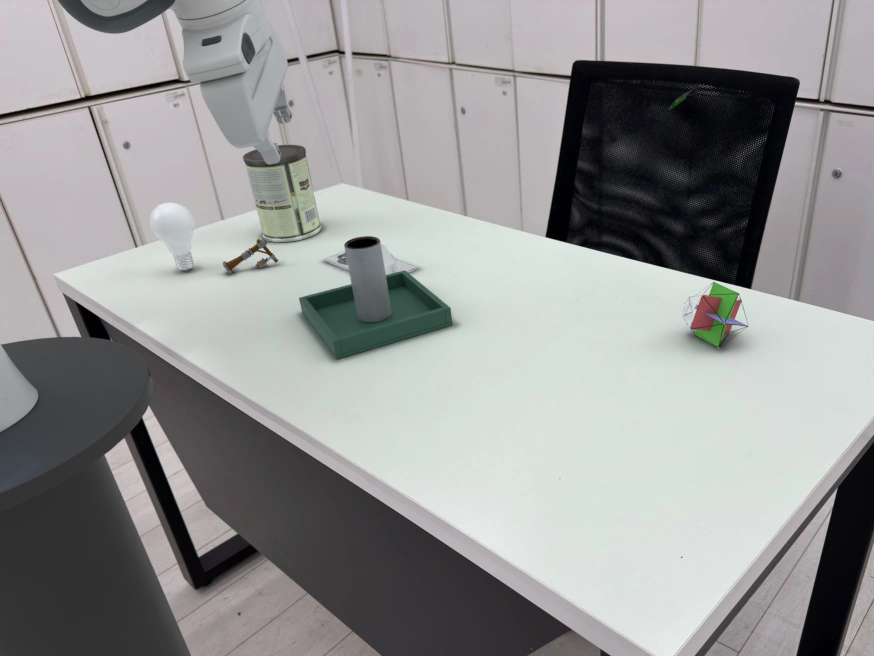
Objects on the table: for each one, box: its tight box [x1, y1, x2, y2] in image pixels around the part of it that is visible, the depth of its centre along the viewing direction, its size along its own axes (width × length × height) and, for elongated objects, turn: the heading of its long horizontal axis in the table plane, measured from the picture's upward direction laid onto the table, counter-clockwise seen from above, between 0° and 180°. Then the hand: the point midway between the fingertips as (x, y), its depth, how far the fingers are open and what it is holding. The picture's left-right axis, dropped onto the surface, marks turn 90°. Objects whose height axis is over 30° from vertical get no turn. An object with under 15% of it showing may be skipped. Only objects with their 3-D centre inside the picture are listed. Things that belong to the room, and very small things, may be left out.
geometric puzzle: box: [682, 280, 750, 349], centre depth 87 cm, size 7×7×8 cm
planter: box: [343, 235, 392, 323], centre depth 97 cm, size 4×4×10 cm
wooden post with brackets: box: [222, 238, 279, 275], centre depth 118 cm, size 2×8×4 cm, turn 108°
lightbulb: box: [149, 201, 196, 272], centre depth 117 cm, size 6×6×11 cm
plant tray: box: [298, 270, 453, 360], centre depth 99 cm, size 16×16×2 cm
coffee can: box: [242, 144, 322, 243], centre depth 129 cm, size 10×10×14 cm
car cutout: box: [324, 243, 418, 275], centre depth 115 cm, size 15×7×4 cm, turn 46°
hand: (280, 139), depth 92 cm, fingers open, 8 cm apart
